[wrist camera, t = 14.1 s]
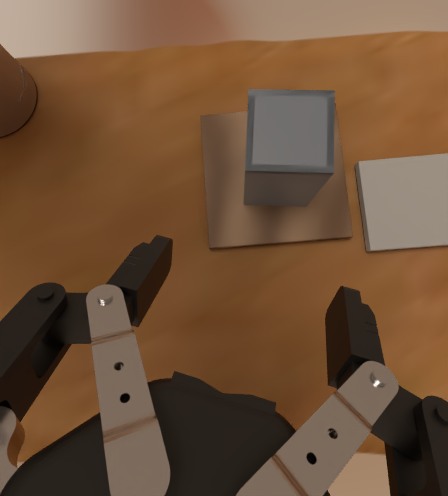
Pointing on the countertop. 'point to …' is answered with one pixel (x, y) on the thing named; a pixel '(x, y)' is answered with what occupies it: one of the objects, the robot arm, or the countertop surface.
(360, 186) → the rubber mat
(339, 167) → the walnut board
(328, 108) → the grey upright block
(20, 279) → the countertop surface
